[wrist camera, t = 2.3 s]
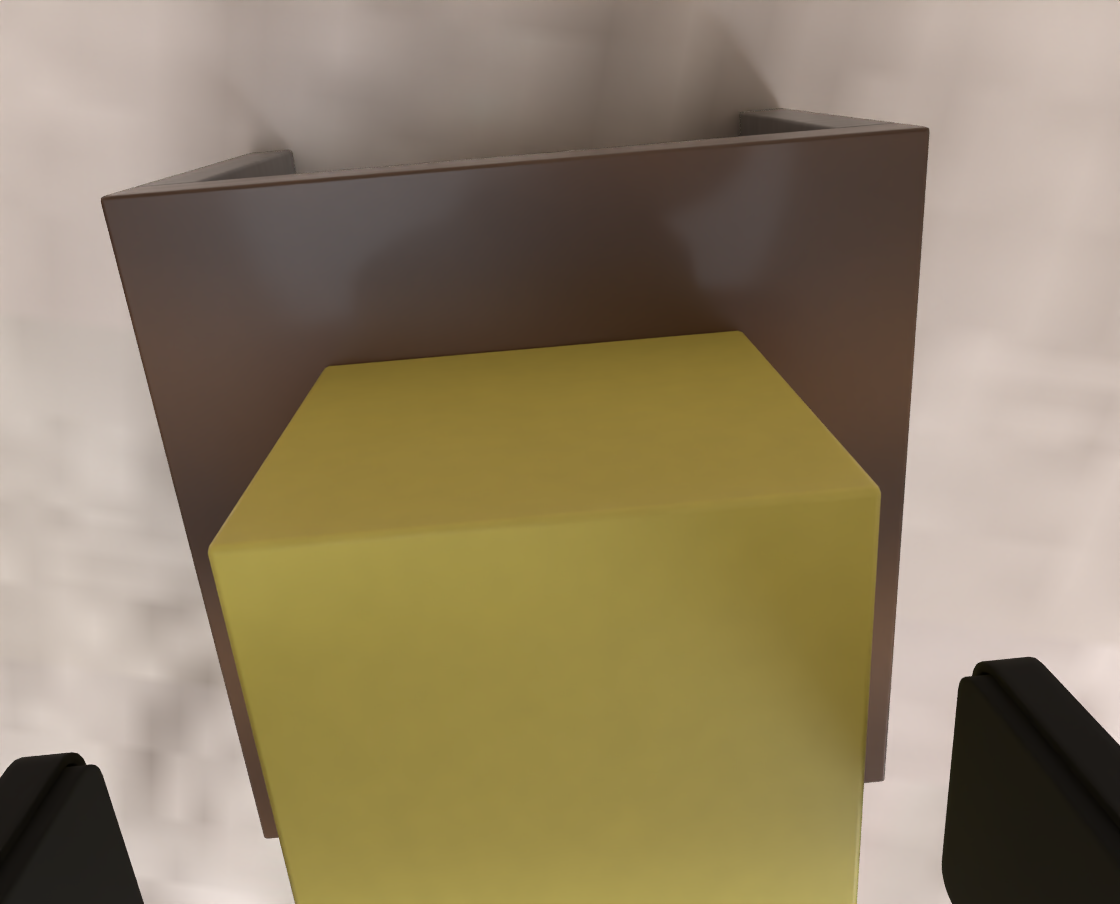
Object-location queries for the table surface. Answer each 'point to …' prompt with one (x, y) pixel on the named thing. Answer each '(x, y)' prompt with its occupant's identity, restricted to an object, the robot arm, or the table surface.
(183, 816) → the table surface
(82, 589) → the table surface
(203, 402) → the stand
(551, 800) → the sticky-note cube
